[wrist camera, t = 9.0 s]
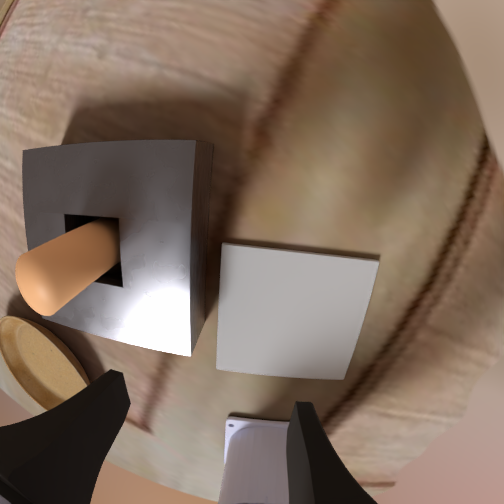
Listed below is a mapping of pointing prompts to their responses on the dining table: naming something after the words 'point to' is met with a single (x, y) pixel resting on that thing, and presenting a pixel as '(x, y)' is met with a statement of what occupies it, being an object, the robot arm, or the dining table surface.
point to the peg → (67, 264)
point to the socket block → (130, 233)
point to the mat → (290, 311)
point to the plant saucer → (40, 362)
